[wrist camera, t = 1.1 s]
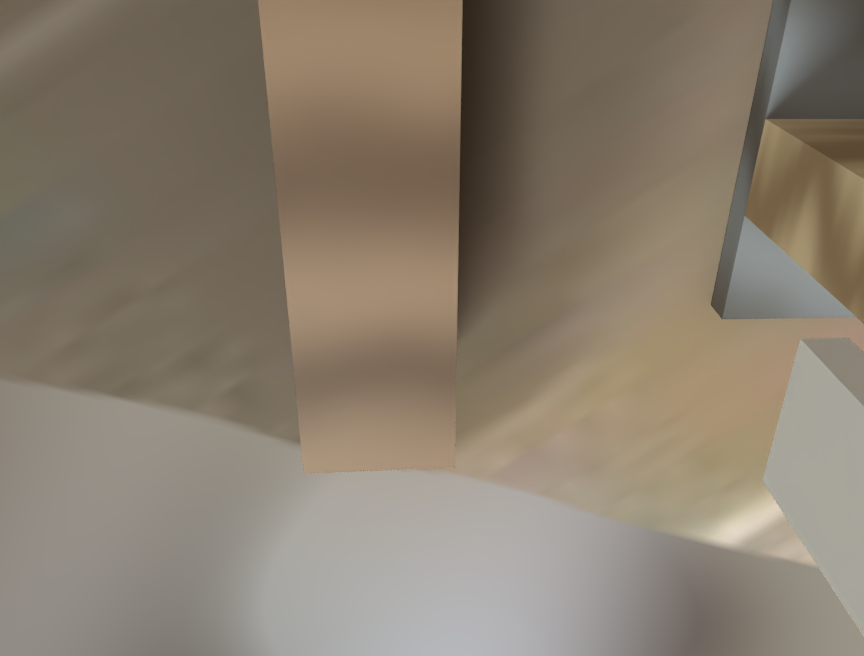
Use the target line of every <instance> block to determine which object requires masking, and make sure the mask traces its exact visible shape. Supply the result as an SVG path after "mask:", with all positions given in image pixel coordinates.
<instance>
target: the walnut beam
mask: <svg viewBox="0 0 864 656" xmlns="http://www.w3.org/2000/svg"><path fill="white" fill-rule="evenodd" d="M258 5H259V15H260V25H261V36H262V46H263V56H264V67H265V77H266V88H267V98H268V108H269V119H270V129H271V139H272V150H273V160H274V171H275V181H276V191H277V202H278V212H279V223H280V233H281V243H282V254H283V264H284V274H285V285H286V295H287V306H288V316H289V326H290V337H291V347H292V357H293V368H294V378H295V389H296V399H297V409H298V420H299V430H300V441H301V451H302V461H303V471H304V473H329V472H352V471H378V470H403V469H427V468H452V467H455V423H456V363H457V304H458V244H459V185H460V125H461V65H462V6H463V0H258Z"/></svg>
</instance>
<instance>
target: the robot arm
mask: <svg viewBox="0 0 864 656" xmlns="http://www.w3.org/2000/svg"><path fill="white" fill-rule="evenodd" d="M763 482H764V484H765V485H766V487H767V489H768V490H769V492H770V493H771V495H772V496H773V498H774V499H775V501H776V502H777V504H778V505H779V507H780V509H781V510H782V512H783V513H784V515H785V516H786V518H787V519H788V521H789V522H790V524H791V526H792V527H793V529H794V530H795V532H796V533H797V535H798V536H799V538H800V539H801V541H802V542H803V544H804V546H805V547H806V549H807V550H808V552H809V553H810V555H811V556H812V558H813V559H814V561H815V563H816V564H817V566H818V567H819V569H820V570H821V572H822V573H823V575H824V576H825V578H826V579H827V581H828V583H829V584H830V586H831V587H832V589H833V590H834V592H835V593H836V595H837V596H838V598H839V599H840V601H841V603H842V604H843V605H844V607H845V609H846V610H847V612H848V613H849V615H850V616H851V618H852V619H853V621H854V622H855V624H856V626H857V627H858V629H859V630H860V631H861V633H862V635H863V636H864V352H863V351H862V350H861V349H860V348H859V347H858V346H857V345H855V344H854V343H853V342H852V341H851V340H850V339H849V338H823V339H800V343H799V346H798V350H797V354H796V357H795V361H794V365H793V369H792V372H791V376H790V380H789V384H788V387H787V391H786V395H785V399H784V402H783V406H782V410H781V414H780V417H779V421H778V425H777V429H776V432H775V436H774V440H773V444H772V447H771V451H770V455H769V459H768V462H767V466H766V470H765V473H764V477H763Z"/></svg>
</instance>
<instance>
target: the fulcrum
mask: <svg viewBox="0 0 864 656" xmlns="http://www.w3.org/2000/svg"><path fill="white" fill-rule="evenodd" d="M711 306H712V307H713V308H714V309H715V311H716V312H717V313H718V314H719V316H720V317H721V318H722V319H770V318H838V317H857V318H858V319H859V320H860V321H861V322H863V323H864V0H774V2H773V7H772V11H771V16H770V21H769V26H768V31H767V36H766V41H765V45H764V50H763V55H762V60H761V65H760V70H759V75H758V79H757V84H756V89H755V94H754V99H753V104H752V108H751V113H750V118H749V123H748V128H747V133H746V138H745V142H744V147H743V152H742V157H741V162H740V167H739V172H738V176H737V181H736V186H735V191H734V196H733V201H732V206H731V210H730V215H729V220H728V225H727V230H726V235H725V240H724V244H723V249H722V254H721V259H720V264H719V269H718V274H717V278H716V283H715V288H714V293H713V298H712V303H711Z"/></svg>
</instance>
